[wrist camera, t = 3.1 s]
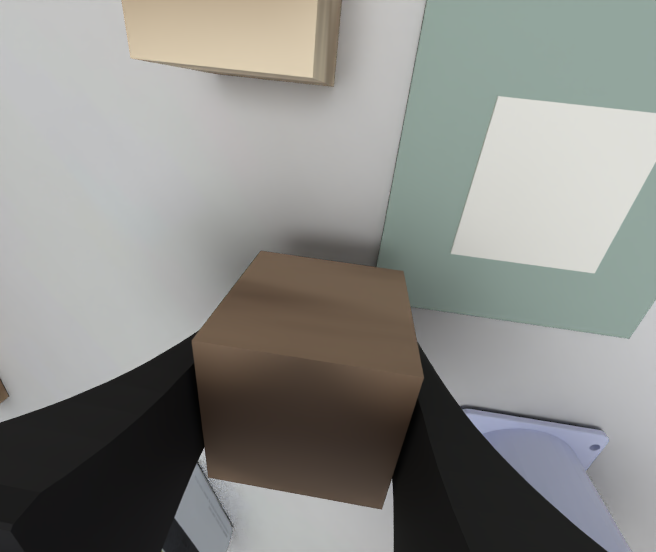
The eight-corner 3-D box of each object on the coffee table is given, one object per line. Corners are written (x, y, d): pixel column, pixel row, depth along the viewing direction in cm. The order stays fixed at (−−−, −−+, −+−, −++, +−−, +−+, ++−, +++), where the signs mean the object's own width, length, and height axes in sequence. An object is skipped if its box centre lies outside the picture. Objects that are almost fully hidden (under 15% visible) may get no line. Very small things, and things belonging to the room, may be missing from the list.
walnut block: (378, 378, 14) (381, 509, 9) (260, 359, 14) (208, 477, 9) (403, 271, 11) (423, 377, 7) (260, 250, 12) (191, 340, 7)
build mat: (626, 336, 15) (630, 340, 15) (370, 298, 16) (370, 302, 16) (841, 14, 10) (854, 11, 9) (431, -23, 10) (432, -26, 10)
